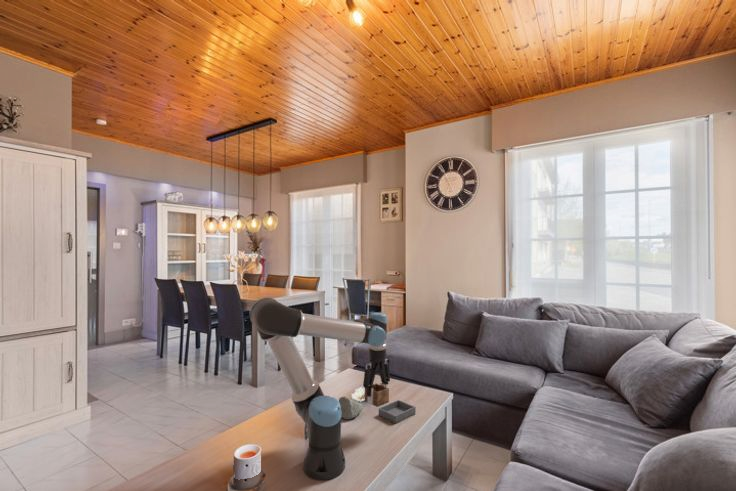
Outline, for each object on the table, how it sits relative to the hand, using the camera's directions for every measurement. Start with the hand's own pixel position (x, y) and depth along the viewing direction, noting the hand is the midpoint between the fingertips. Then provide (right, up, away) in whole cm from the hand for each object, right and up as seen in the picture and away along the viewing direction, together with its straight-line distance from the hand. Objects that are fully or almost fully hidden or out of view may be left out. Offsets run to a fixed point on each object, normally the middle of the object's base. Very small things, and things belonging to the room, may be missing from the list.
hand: (376, 400), depth 151 cm
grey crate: (+10, -14, +15) cm, 23 cm away
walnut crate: (0, 0, 0) cm, 0 cm away
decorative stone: (-12, -14, +14) cm, 23 cm away
